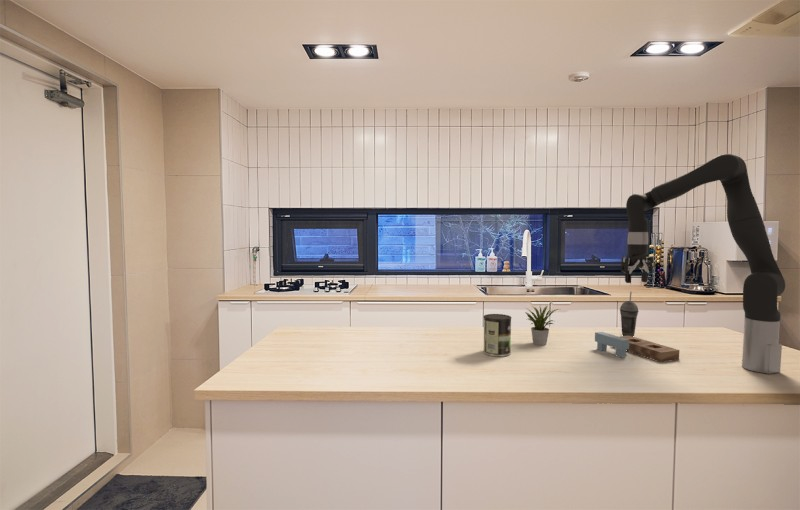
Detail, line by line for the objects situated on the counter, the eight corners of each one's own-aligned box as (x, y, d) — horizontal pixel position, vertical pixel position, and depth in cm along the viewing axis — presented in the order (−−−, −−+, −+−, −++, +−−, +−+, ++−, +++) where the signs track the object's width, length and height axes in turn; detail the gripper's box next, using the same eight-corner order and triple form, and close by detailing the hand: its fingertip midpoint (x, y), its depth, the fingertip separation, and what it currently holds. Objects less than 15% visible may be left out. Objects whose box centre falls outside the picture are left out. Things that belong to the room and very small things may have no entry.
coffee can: (510, 349, 172) (510, 314, 171) (511, 357, 162) (512, 319, 161) (483, 348, 174) (483, 313, 173) (482, 355, 164) (483, 318, 163)
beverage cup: (633, 334, 195) (634, 290, 194) (640, 339, 188) (642, 292, 186) (616, 334, 196) (617, 289, 194) (622, 338, 189) (624, 292, 187)
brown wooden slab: (679, 359, 160) (679, 350, 159) (660, 362, 157) (661, 352, 156) (628, 343, 180) (628, 335, 180) (611, 346, 177) (611, 337, 177)
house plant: (556, 339, 187) (557, 301, 186) (564, 348, 174) (566, 307, 172) (521, 338, 189) (522, 300, 188) (527, 347, 175) (528, 306, 174)
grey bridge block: (628, 357, 162) (629, 339, 162) (621, 358, 161) (622, 340, 161) (601, 347, 175) (602, 331, 174) (594, 348, 173) (595, 332, 173)
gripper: (631, 243, 174) (630, 284, 175) (659, 243, 179) (657, 282, 180) (616, 243, 181) (615, 282, 183) (643, 242, 186) (642, 280, 187)
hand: (636, 282), depth 181 cm, fingers open, 8 cm apart
